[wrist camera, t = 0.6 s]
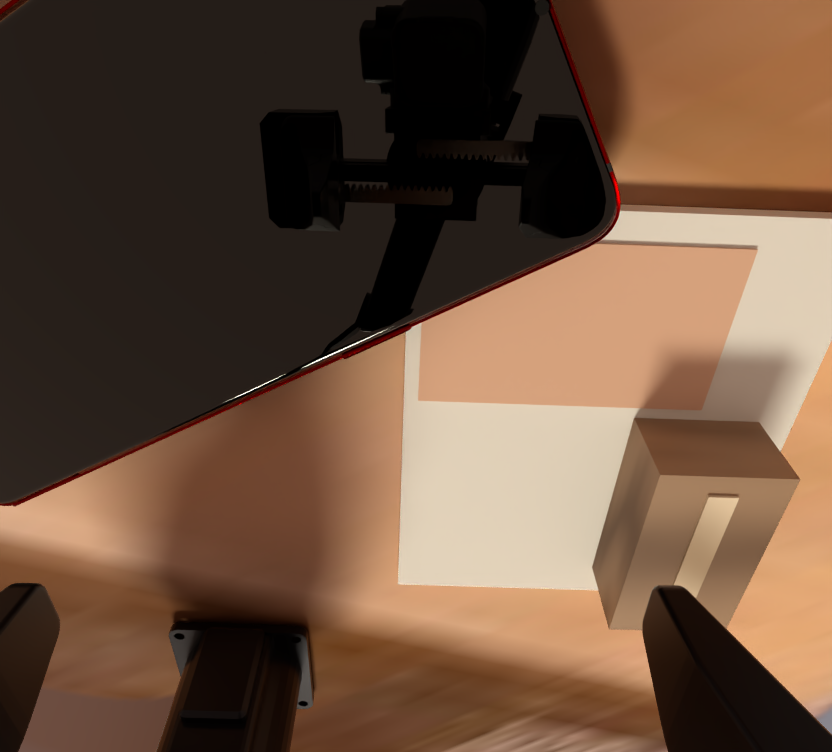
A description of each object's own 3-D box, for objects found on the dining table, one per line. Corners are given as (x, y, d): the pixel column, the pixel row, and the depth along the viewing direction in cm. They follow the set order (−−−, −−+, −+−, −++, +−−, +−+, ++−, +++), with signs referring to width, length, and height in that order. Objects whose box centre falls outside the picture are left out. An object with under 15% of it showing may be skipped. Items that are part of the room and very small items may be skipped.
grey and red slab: (-325, 242, 19) (435, -343, 12) (-273, 226, 20) (437, -307, 13) (-12, 525, 24) (642, 233, 17) (12, 498, 25) (628, 216, 18)
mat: (710, 582, 29) (716, 595, 28) (398, 573, 28) (397, 586, 28) (874, 213, 19) (887, 222, 19) (410, 196, 19) (409, 204, 18)
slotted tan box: (696, 570, 27) (725, 635, 25) (591, 567, 27) (609, 631, 25) (758, 422, 23) (802, 481, 20) (634, 417, 23) (661, 476, 20)
